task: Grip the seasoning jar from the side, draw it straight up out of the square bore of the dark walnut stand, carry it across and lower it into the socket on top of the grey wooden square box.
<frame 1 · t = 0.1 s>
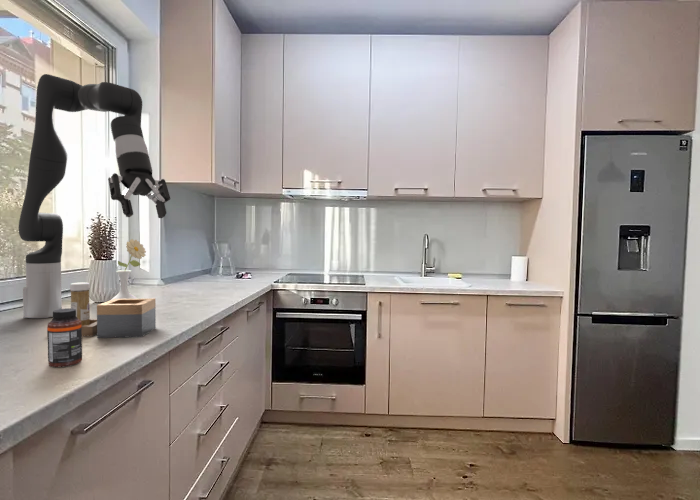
hand: (146, 216, 106), 31 cm above the countertop, tool tilted 20°, fingers open, 8 cm apart
flower in vase: (126, 310, 152), on the countertop
seasoning jar: (80, 332, 117), resting in walnut stand
supplement bottle: (65, 364, 89), on the countertop
walnut stand: (80, 331, 117), on the countertop
grey wooden square box: (127, 332, 117), on the countertop
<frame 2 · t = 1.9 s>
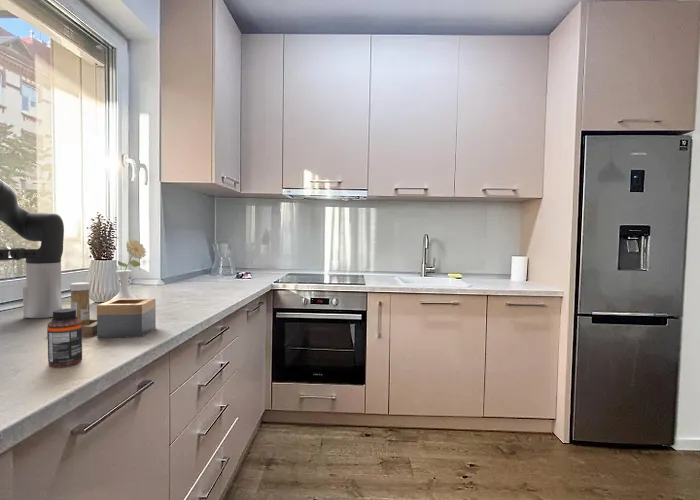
hand: (32, 252, 107), 22 cm above the countertop, tool horizontal, fingers open, 8 cm apart
nothing on the countertop moved.
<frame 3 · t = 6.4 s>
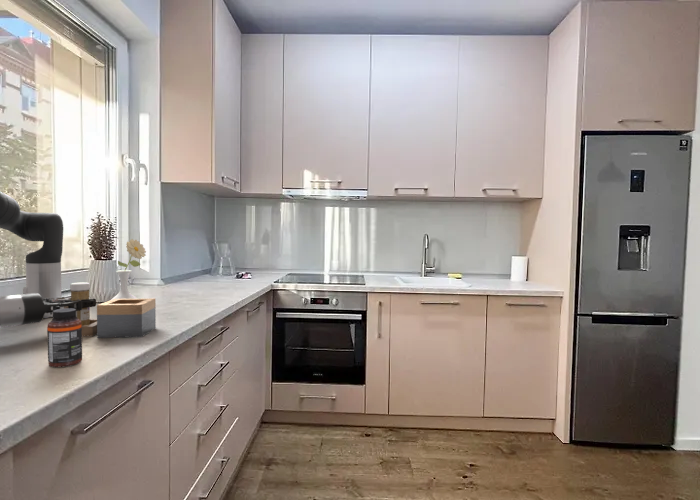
hand: (90, 301, 119), 8 cm above the countertop, tool horizontal, fingers closed on seasoning jar, 4 cm apart
seasoning jar: (80, 332, 117), resting in walnut stand, touching gripper
everything else where it was.
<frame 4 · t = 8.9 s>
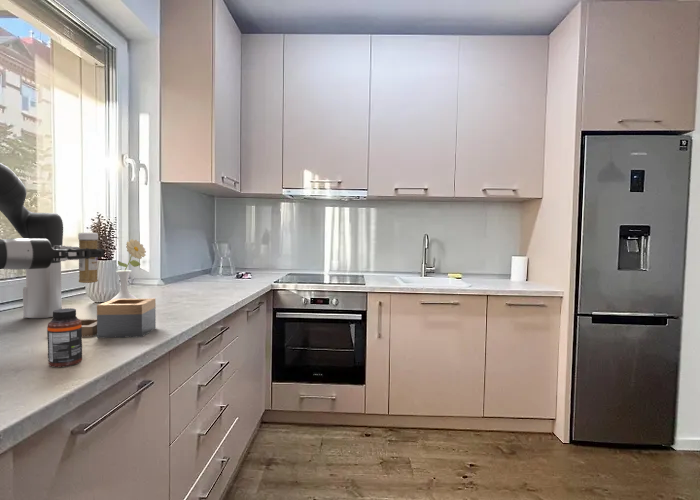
hand: (98, 252, 118), 22 cm above the countertop, tool horizontal, fingers closed on seasoning jar, 4 cm apart
seasoning jar: (88, 282, 116), point 13 cm above the countertop, touching gripper
everything else where it was.
when the fingers open (15 cm above the countertop, at t = 11.6 s): seasoning jar drops 1 cm, resting on grey wooden square box.
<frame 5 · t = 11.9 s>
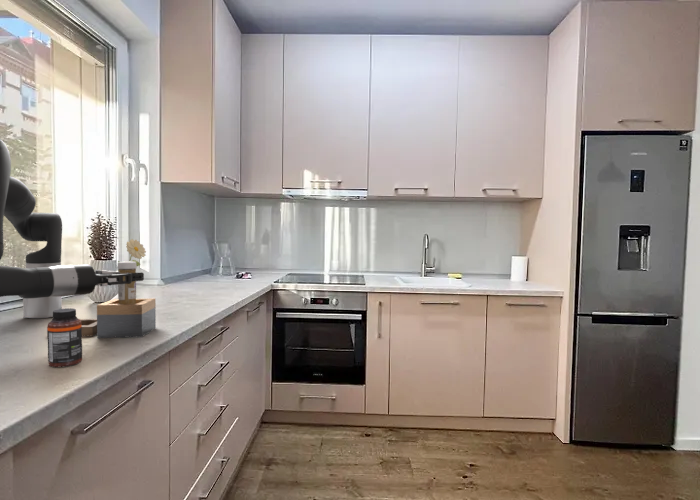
hand: (135, 275, 118), 15 cm above the countertop, tool horizontal, fingers open, 7 cm apart
seasoning jar: (127, 311, 117), point 6 cm above the countertop, touching grey wooden square box
everything else where it was.
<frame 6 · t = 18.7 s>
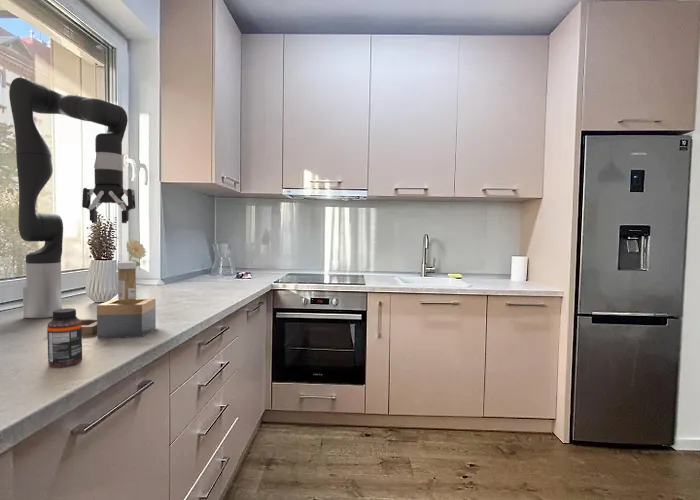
hand: (109, 223, 130), 30 cm above the countertop, tool pointing down, fingers open, 8 cm apart
nothing on the countertop moved.
at the end: seasoning jar 0.1 cm off-centre on the grey wooden square box, point 5.8 cm above the grey wooden square box's base; seasoning jar tilted 0°; the gripper is holding nothing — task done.
